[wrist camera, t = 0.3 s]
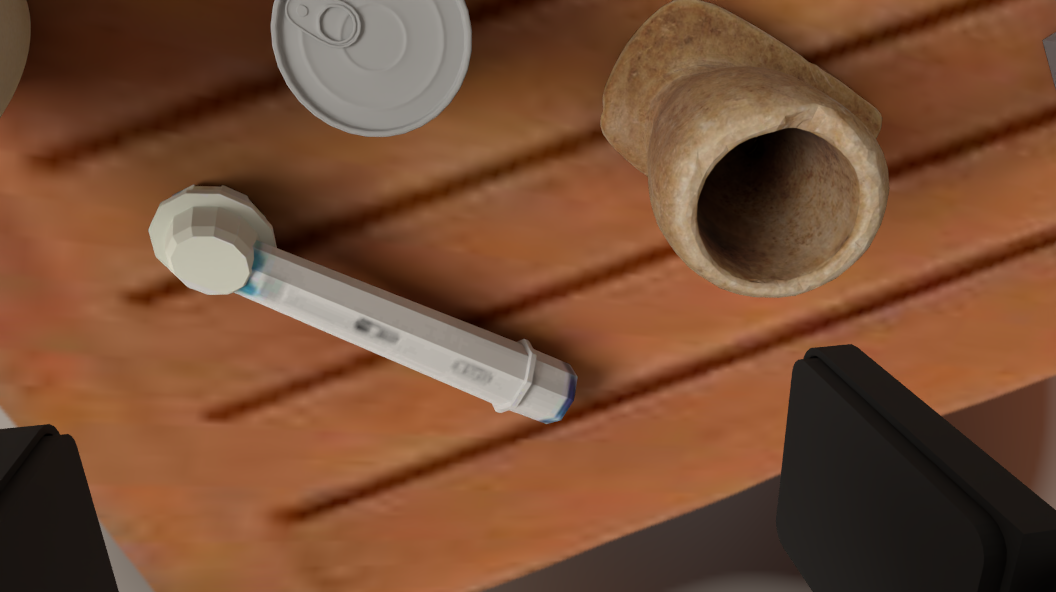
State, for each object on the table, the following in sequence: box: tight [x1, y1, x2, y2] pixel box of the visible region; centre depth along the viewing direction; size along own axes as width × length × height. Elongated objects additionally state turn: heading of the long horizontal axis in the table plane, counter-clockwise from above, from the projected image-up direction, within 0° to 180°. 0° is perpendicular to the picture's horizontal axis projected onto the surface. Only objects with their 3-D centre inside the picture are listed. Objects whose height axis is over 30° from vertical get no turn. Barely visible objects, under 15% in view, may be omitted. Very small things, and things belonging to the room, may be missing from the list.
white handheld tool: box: [148, 185, 577, 424], centre depth 46 cm, size 5×7×25 cm
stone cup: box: [600, 0, 889, 298], centre depth 40 cm, size 15×12×15 cm
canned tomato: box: [271, 0, 472, 137], centre depth 37 cm, size 8×8×11 cm
